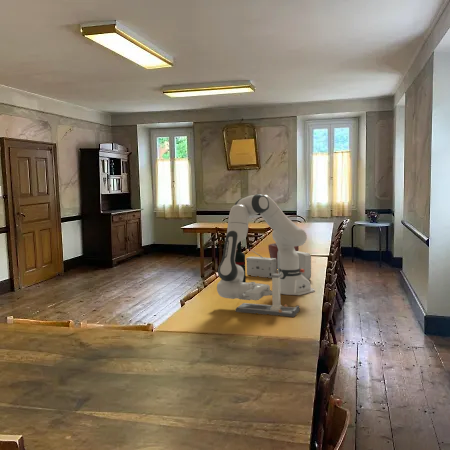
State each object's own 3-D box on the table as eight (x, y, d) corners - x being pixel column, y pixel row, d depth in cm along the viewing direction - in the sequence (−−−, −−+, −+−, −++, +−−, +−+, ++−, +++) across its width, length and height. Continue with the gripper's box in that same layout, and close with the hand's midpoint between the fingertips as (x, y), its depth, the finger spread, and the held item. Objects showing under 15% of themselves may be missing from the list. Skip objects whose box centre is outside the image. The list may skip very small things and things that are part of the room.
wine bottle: (248, 281, 303) (247, 236, 300) (243, 284, 293) (243, 238, 291) (237, 280, 305) (236, 236, 303) (232, 283, 296) (231, 238, 293)
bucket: (300, 271, 334) (300, 237, 332) (270, 272, 334) (269, 238, 332) (295, 265, 358) (295, 234, 356) (267, 266, 359) (267, 234, 357)
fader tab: (270, 309, 225) (270, 275, 223) (274, 306, 231) (274, 272, 230) (278, 310, 223) (278, 275, 222) (282, 306, 230) (281, 273, 228)
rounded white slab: (313, 279, 305) (313, 252, 303) (305, 281, 301) (305, 254, 299) (285, 273, 329) (285, 248, 327) (277, 274, 324) (277, 249, 323)
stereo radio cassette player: (277, 276, 317) (276, 248, 315) (271, 278, 310) (271, 249, 308) (251, 274, 328) (250, 246, 326) (245, 276, 321) (244, 248, 319)
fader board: (235, 311, 229) (235, 306, 229) (243, 305, 240) (243, 300, 240) (294, 316, 218) (293, 311, 218) (299, 310, 229) (299, 305, 229)
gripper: (240, 289, 223) (267, 291, 217) (253, 281, 241) (278, 282, 236) (240, 302, 223) (267, 304, 218) (253, 292, 242) (278, 294, 237)
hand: (273, 293), depth 227 cm, fingers closed, pressing on fader tab
